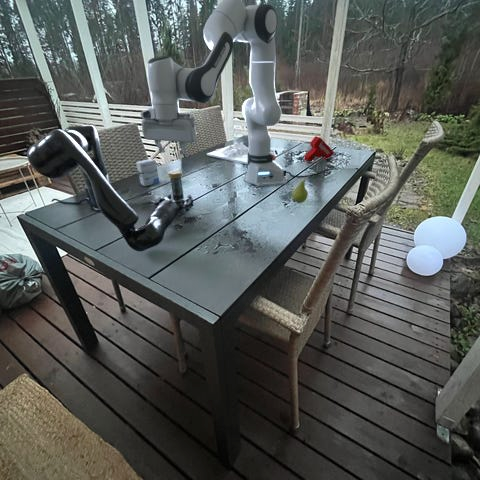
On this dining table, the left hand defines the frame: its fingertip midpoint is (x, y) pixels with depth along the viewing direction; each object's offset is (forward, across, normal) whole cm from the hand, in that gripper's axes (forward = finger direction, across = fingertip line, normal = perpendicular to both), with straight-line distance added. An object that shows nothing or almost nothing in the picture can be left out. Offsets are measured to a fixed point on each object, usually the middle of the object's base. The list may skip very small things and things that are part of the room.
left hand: (180, 196), depth 112 cm
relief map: (+86, -11, +6) cm, 87 cm away
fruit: (+15, -50, +6) cm, 52 cm away
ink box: (+27, +27, +6) cm, 39 cm away
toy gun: (+80, -64, +6) cm, 102 cm away
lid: (-2, 0, -11) cm, 11 cm away
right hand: (-2, 0, -18) cm, 18 cm away
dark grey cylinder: (-2, 0, +6) cm, 6 cm away
